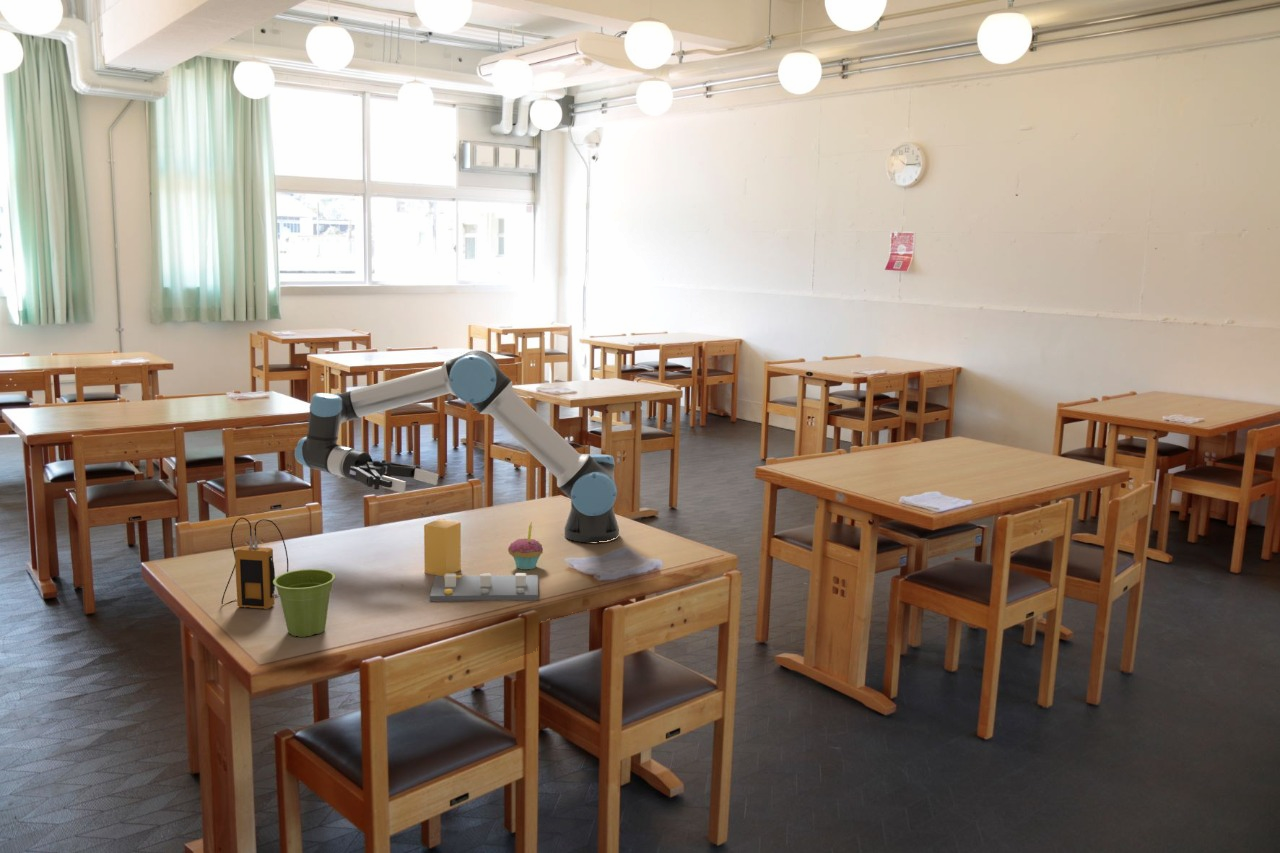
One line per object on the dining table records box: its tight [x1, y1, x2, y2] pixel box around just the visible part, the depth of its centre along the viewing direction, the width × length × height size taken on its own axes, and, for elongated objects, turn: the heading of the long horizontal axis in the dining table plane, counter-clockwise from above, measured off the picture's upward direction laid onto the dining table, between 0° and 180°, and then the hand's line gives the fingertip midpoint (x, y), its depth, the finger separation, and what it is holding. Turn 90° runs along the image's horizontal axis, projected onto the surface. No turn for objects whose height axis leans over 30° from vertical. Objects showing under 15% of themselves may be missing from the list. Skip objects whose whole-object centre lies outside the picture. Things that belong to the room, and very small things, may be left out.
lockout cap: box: [423, 518, 462, 576], centre depth 240 cm, size 6×6×12 cm
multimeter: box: [220, 517, 289, 610], centre depth 216 cm, size 15×10×20 cm
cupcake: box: [507, 521, 544, 570], centre depth 245 cm, size 9×8×12 cm
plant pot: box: [273, 568, 336, 638], centre depth 201 cm, size 12×12×11 cm
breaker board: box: [429, 572, 539, 602], centre depth 229 cm, size 24×14×4 cm, turn 96°
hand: (421, 483), depth 242 cm, fingers open, 13 cm apart
